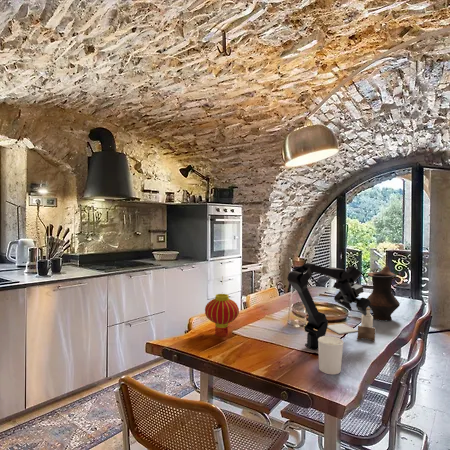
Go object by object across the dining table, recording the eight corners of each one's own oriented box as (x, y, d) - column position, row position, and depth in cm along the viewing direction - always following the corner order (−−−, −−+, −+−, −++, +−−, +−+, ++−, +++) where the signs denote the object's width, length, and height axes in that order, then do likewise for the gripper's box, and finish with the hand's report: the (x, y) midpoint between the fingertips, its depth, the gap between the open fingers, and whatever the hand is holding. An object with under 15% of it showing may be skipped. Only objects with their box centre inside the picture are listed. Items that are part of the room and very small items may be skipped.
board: (339, 334, 182) (339, 333, 182) (325, 326, 193) (325, 325, 193) (358, 331, 186) (358, 330, 186) (343, 324, 197) (343, 323, 197)
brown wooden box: (357, 338, 176) (357, 326, 176) (357, 336, 179) (358, 324, 179) (374, 341, 173) (375, 329, 173) (374, 338, 176) (375, 327, 176)
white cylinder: (337, 364, 146) (338, 336, 146) (346, 375, 137) (347, 345, 136) (314, 364, 146) (314, 335, 146) (321, 375, 136) (322, 345, 136)
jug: (395, 326, 196) (397, 272, 194) (360, 319, 207) (362, 268, 205) (403, 317, 212) (405, 267, 211) (370, 311, 224) (372, 264, 222)
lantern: (241, 330, 185) (242, 273, 183) (233, 342, 168) (234, 280, 166) (210, 327, 189) (211, 271, 188) (199, 338, 173) (200, 277, 171)
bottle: (361, 331, 186) (362, 306, 186) (372, 333, 184) (373, 307, 184) (360, 334, 181) (361, 308, 181) (372, 336, 179) (373, 310, 179)
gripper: (371, 282, 167) (383, 306, 172) (341, 275, 184) (353, 297, 189) (357, 297, 163) (370, 322, 168) (328, 289, 180) (340, 311, 185)
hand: (358, 312), depth 178 cm, fingers open, 9 cm apart
